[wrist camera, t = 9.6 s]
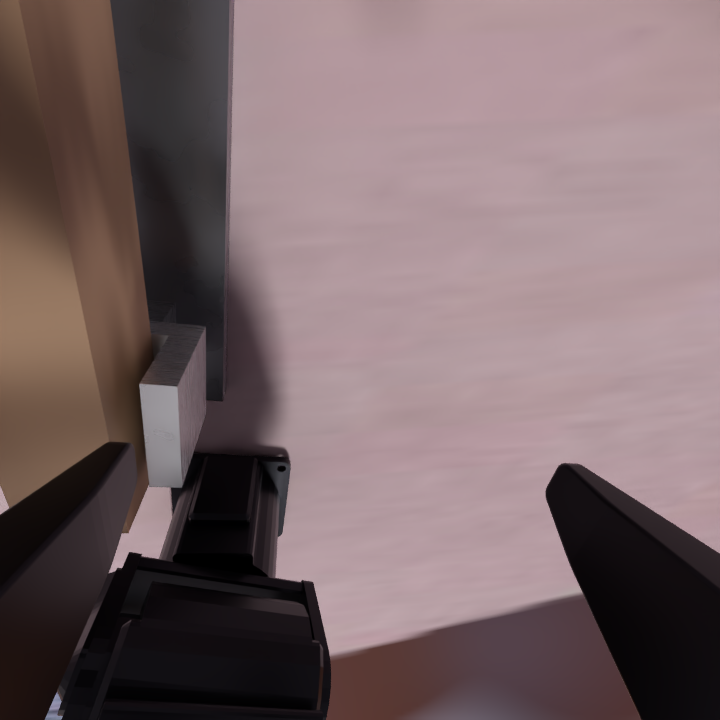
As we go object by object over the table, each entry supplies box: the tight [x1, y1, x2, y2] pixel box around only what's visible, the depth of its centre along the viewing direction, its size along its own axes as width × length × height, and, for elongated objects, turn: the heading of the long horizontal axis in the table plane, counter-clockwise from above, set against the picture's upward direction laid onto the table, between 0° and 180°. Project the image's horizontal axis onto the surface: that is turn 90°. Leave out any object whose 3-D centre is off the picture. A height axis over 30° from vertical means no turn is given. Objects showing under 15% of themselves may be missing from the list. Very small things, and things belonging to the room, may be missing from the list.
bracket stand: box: [110, 0, 234, 488], centre depth 12 cm, size 23×7×8 cm, turn 170°
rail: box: [0, 0, 154, 533], centre depth 9 cm, size 22×3×4 cm, turn 172°
